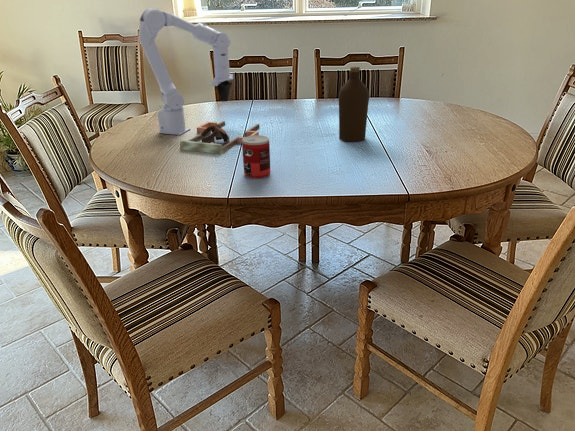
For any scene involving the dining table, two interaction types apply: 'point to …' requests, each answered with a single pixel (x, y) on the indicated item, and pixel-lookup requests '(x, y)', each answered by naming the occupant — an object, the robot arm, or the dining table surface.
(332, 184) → the dining table surface
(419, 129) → the dining table surface
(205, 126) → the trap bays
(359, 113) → the olive oil
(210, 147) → the channel
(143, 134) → the dining table surface
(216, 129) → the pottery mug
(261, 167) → the canned food
